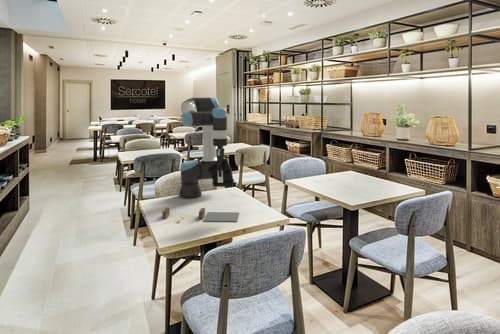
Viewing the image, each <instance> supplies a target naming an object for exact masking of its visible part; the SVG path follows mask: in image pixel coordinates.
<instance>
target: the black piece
mask: <svg viewBox="0 0 500 334" xmlns="http://www.w3.org/2000/svg"><path fill="white" fill-rule="evenodd" d="M222 169H223V183H218V171H216V170H217V163H215V164H213V165H211V166H209V167H208V171H210V173H211V175H212V176H211V178H212V179H211V180H212V182H211V185H212V186H213V187H215V188H216V187H220V188H221V187H222V188H226V187H227V188H232V187H234V181H235V179H234V177H233V169H232V168H231V165H230V163H229V159H227V158H224V160H222Z"/></svg>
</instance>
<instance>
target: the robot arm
mask: <svg viewBox="0 0 500 334" xmlns="http://www.w3.org/2000/svg"><path fill="white" fill-rule="evenodd" d="M180 110H181V114H182V126H184V127H201V126H202V127H201V128H202V152H203V155H202V158H201V159H200V162H199V161H198V160H195V159H194V160H187V161H184V162H182V163H181V164H180V170H179V171H180V188H179V192H178V197H179V198H182V199H196V198H200V197H201V196H202V195H203V191H202V189H201V186H200V183H199V181H203V180H212V178H211V176H212V175H211V173H210V171H208V167H209V166H211V165H213V164H215V163H217V170H216V171H218V183H223V169H222V160H224V159H225V148H224V147H226V146H228V112H227V109H226V108H225V107H223V108H222V107H220V104H219V101H218V99H217V98H216V97H190V98H188V99H186V100H184V101H183V102H182V103H181V105H180Z"/></svg>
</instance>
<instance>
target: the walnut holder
mask: <svg viewBox="0 0 500 334" xmlns="http://www.w3.org/2000/svg"><path fill="white" fill-rule="evenodd" d="M170 211H171V210H170V207H165V208H164V209H163V210H162V212H161V213H162V220H167V219H168V217H169V216H170V214H171V213H170ZM205 216H206V208H204V207H202V208H200V209H199V211H198V219H199V220H204V218H205Z"/></svg>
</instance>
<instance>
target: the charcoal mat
mask: <svg viewBox="0 0 500 334" xmlns="http://www.w3.org/2000/svg"><path fill="white" fill-rule="evenodd" d="M239 217H240V212H238V211H237V212H235V211H233V212H232V211H231V212H230V211H228V212H227V211H224V212H223V211H207V213H206V214H205V216H204V218H203V219H202V220H203V221H202V222H205V223H207V222H208V223H212V222H215V223H216V222H217V223H218V222H219V223H221V222H222V223H237V222H238V220H239Z"/></svg>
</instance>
